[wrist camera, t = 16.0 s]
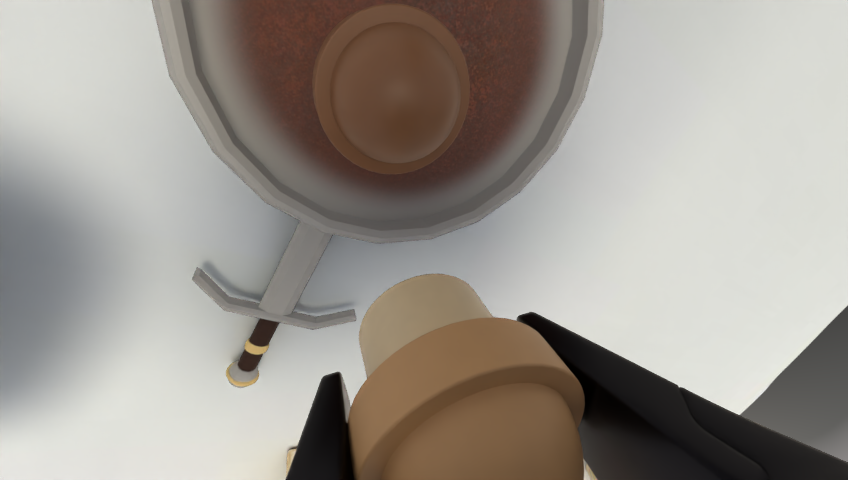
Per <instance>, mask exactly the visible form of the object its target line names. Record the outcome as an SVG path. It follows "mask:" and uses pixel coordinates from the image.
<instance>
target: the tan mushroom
mask: <svg viewBox="0 0 848 480" xmlns="http://www.w3.org/2000/svg"><path fill="white" fill-rule="evenodd" d="M359 343H360V348H361V353H362V357H363V362H364V366H365V371H366V375H367V380H366V381H365V382H364V384H363V385H362V386H361V388H360V390H359V391H358V393H357V395H356V397H355V398H354V401H353V403H352V406H351V409H350V412H349V417H348V422H347V425H348V434H349V444H350V454H351V462H352V469H353V476H354V480H584V461H583V450H582V445H581V440H580V435H579V432H578V427H579V424H580V422H581V419H582V416H583V413H584V407H585V396H584V392H583V389H582V386H581V384H580V383H579V381H578V379H577V378H576V377H575V376H574V374H573V373H572V372H571V371H570V370H569V368H568V367H567V366H566V365H565V364H564V362H563V361H562V360H561V359H560V357H559V356H558V355H557V354H556V353H555V351H554V350H553V349H552V348H551V347H550V345H549V344H548V343H547V342H546V341H545V339H544V338H543V337H542V336H541V335H540V334H539V333H538V332H537V331H536V330H534V329H533V328H531V327H530V326H528V325H526V324H523V323H521V322H518V321H515V320H511V319H506V318H495V317H493V316H492V315H491V313H490V312H489V311H488V309H487V308H486V306H485V305H484V304H483V302H482V301H481V299H480V298H479V297H478V295H477V294H476V292H475V291H474V290H473V288H472V287H471V286H470V285H469V284H467V283H466V282H464V281H463V280H461V279H459V278H456V277H453V276H450V275H445V274H426V275H420V276H416V277H413V278H409V279H407V280H404V281H402V282H400V283H398V284H396V285H394V286H393V287H391V288H390V289H388V290H387V291H385V292H384V293H383V294H382V295H381V296H379V297H378V298H377V299H376V300H375V302H374V303H373V304H372V305H371V306H370V308H369V309H368V311H367V312H366V314H365V316H364V318H363V321H362V323H361V326H360V331H359Z"/></svg>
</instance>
